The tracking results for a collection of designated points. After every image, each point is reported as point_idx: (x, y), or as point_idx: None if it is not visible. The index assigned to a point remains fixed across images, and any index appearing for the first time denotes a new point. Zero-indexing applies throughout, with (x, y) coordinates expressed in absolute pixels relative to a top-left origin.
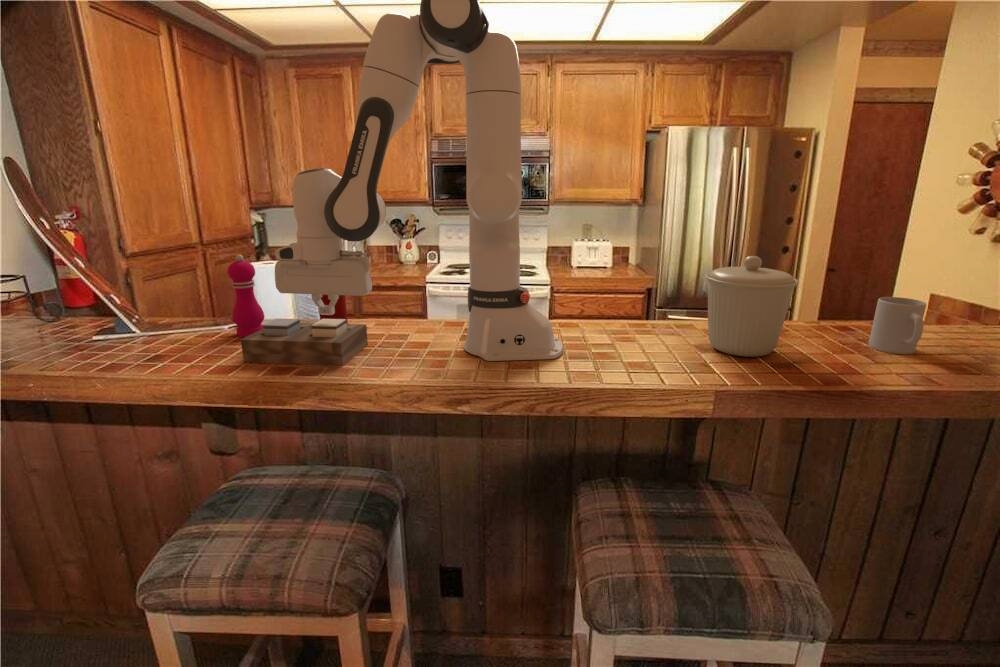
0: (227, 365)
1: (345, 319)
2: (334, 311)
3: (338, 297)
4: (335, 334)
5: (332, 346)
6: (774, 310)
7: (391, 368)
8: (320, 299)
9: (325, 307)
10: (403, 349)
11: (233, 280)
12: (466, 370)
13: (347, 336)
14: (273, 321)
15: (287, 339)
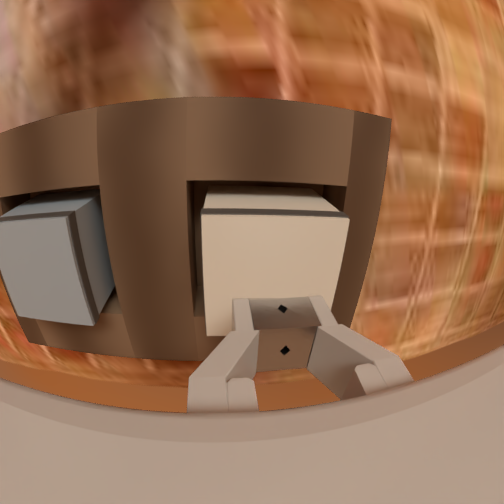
0: None
1: (348, 226)
2: (322, 303)
3: (398, 361)
4: None
5: None
6: None
7: (419, 301)
8: (235, 371)
9: (288, 367)
10: (445, 171)
11: None
12: (499, 285)
13: (352, 298)
14: (7, 269)
15: (144, 346)
